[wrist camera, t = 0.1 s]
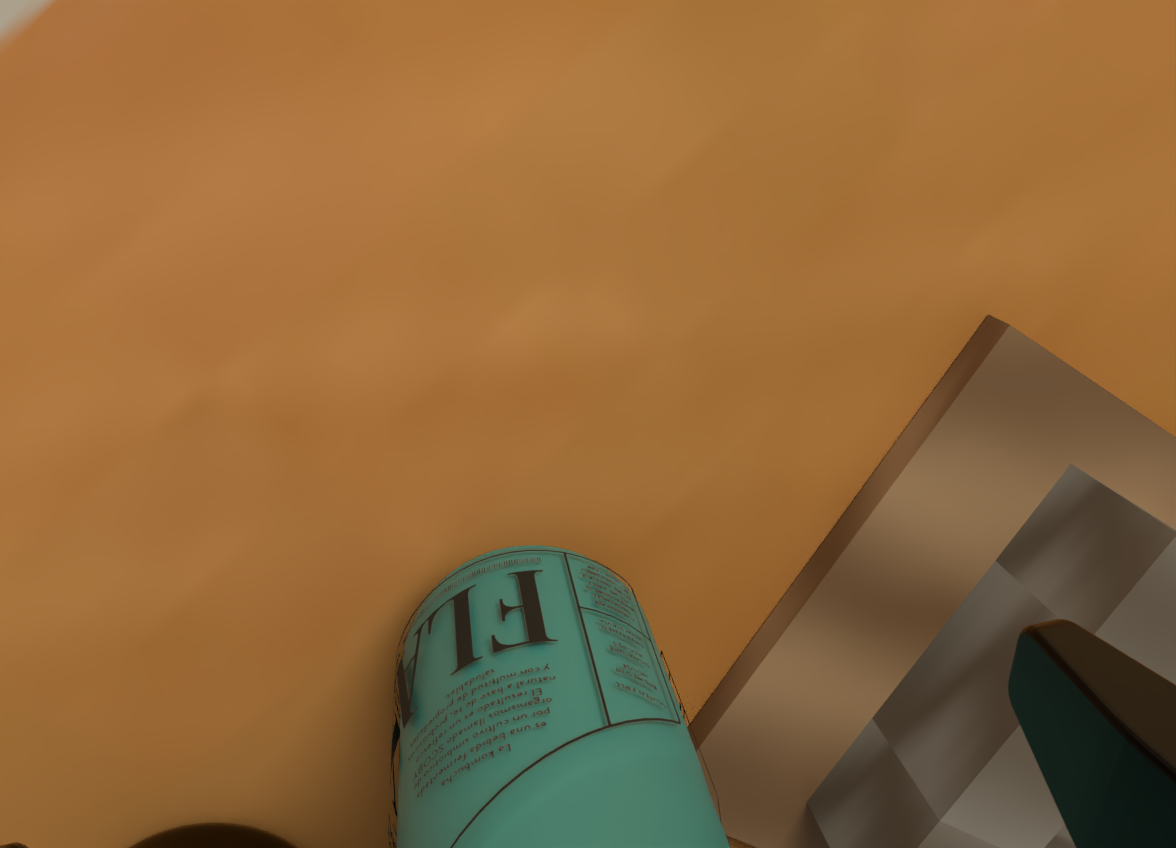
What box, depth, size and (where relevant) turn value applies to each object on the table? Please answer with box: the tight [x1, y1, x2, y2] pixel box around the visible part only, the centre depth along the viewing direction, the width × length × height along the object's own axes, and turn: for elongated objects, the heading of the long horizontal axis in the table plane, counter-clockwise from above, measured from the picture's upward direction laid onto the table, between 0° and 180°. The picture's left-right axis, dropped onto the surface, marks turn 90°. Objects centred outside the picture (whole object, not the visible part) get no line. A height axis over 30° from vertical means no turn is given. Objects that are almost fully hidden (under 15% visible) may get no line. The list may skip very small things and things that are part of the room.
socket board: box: [687, 315, 1176, 848], centre depth 28 cm, size 16×20×5 cm
